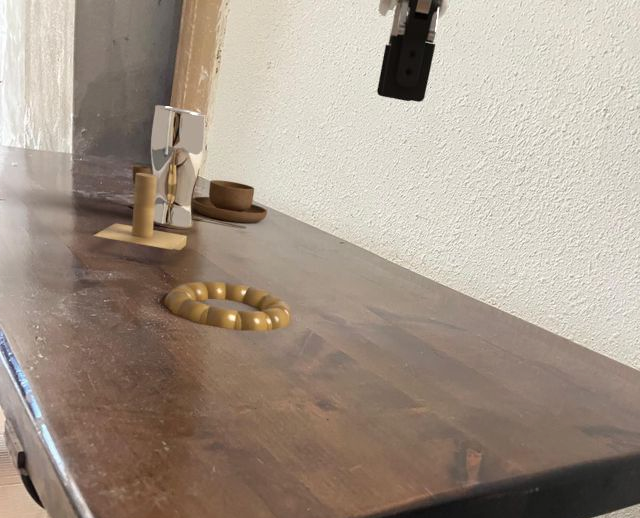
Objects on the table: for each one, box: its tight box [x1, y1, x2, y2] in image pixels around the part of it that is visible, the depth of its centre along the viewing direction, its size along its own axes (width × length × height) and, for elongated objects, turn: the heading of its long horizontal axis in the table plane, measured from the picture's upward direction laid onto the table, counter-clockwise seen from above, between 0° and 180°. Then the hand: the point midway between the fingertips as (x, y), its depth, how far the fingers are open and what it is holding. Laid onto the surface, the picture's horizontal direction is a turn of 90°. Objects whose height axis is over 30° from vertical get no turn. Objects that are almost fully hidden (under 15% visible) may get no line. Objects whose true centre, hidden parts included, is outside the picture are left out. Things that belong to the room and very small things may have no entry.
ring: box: [164, 281, 292, 332], centre depth 67 cm, size 11×11×2 cm
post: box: [93, 173, 188, 251], centre depth 88 cm, size 9×9×8 cm
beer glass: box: [150, 104, 206, 230], centre depth 101 cm, size 7×7×15 cm
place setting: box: [129, 164, 268, 229], centre depth 117 cm, size 18×20×6 cm
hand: (398, 98), depth 61 cm, fingers open, 9 cm apart
